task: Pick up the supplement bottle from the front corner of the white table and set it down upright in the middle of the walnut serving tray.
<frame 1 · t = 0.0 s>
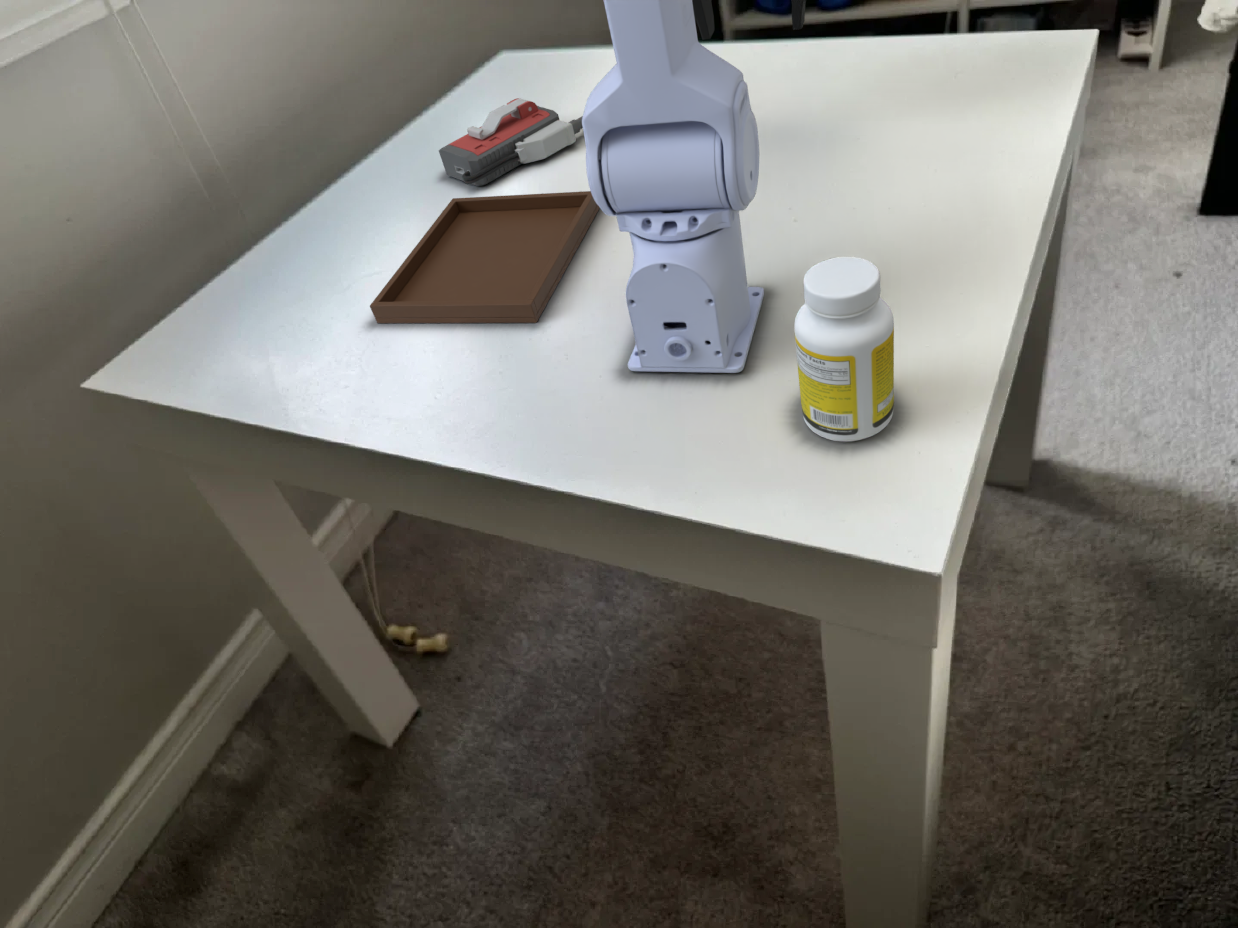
hand: (752, 30, 76), 10 cm above the table, tool pointing down, fingers open, 7 cm apart
tray: (493, 263, 77), on the table
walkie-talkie: (535, 148, 93), on the table
supplement bottle: (847, 416, 55), on the table
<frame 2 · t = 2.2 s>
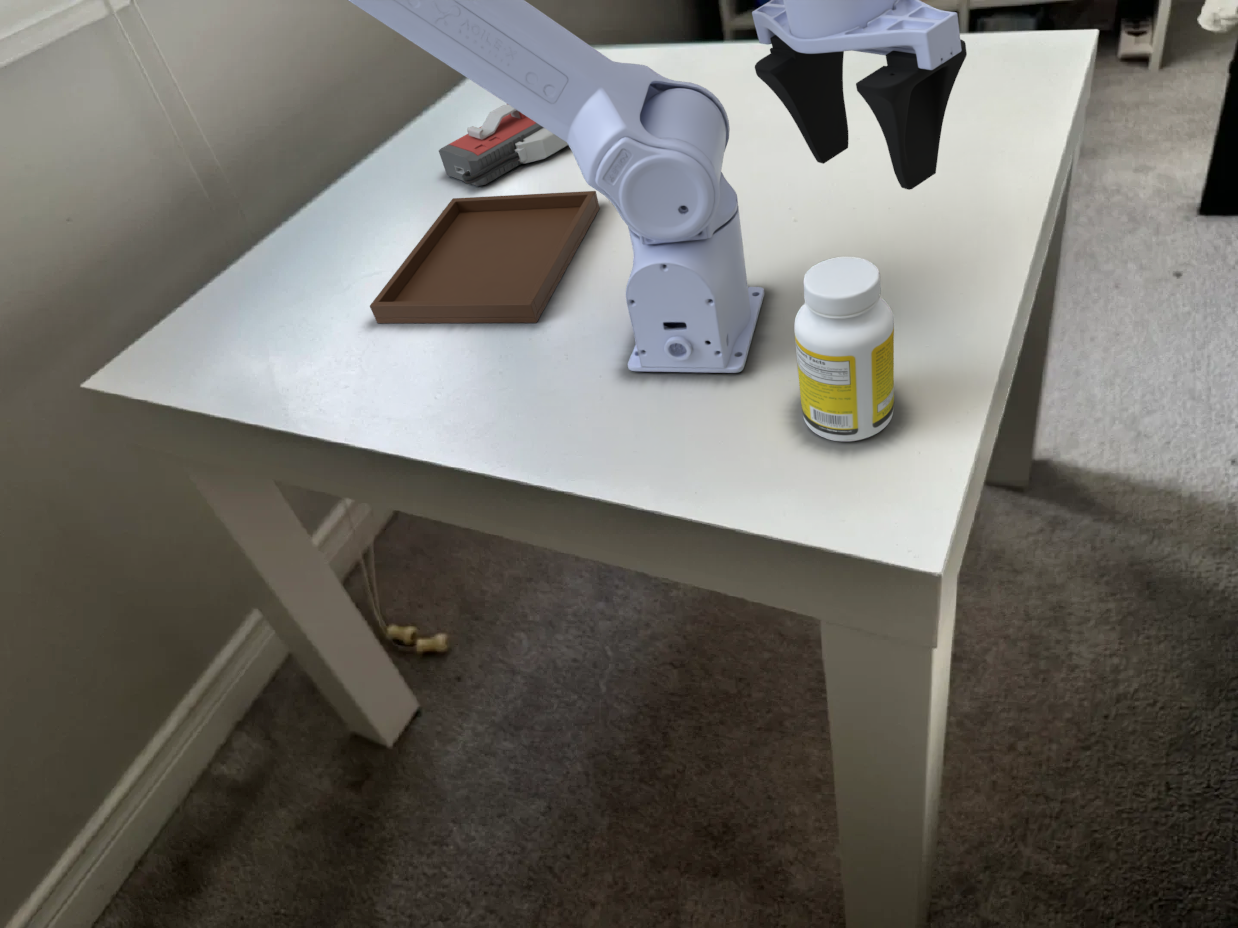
hand: (873, 166, 54), 11 cm above the table, tool pointing down, fingers open, 7 cm apart
nothing on the table moved.
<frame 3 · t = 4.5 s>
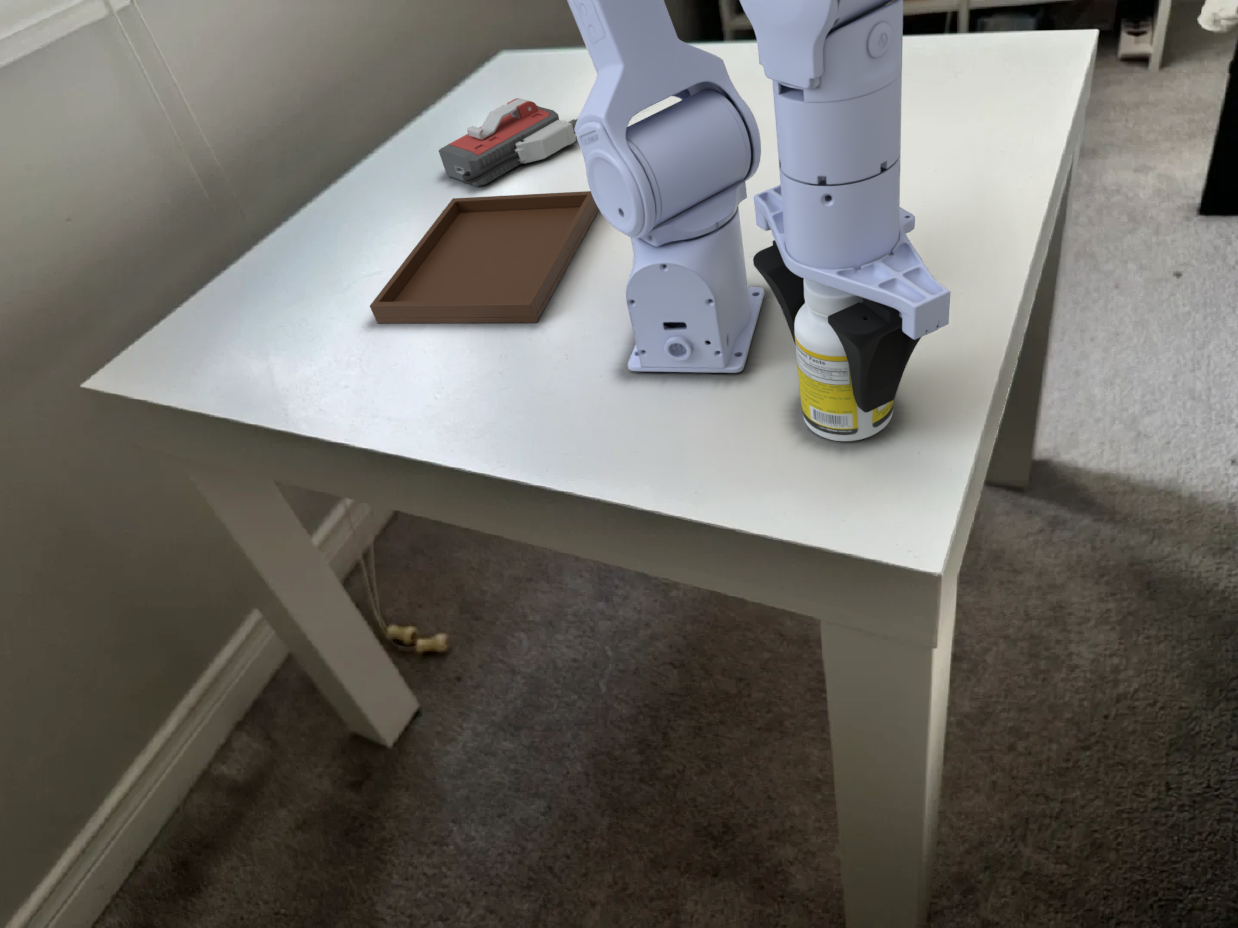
hand: (846, 377, 53), 3 cm above the table, tool pointing down, fingers closed on supplement bottle, 5 cm apart
supplement bottle: (846, 416, 55), on the table, touching gripper
everything else where it was.
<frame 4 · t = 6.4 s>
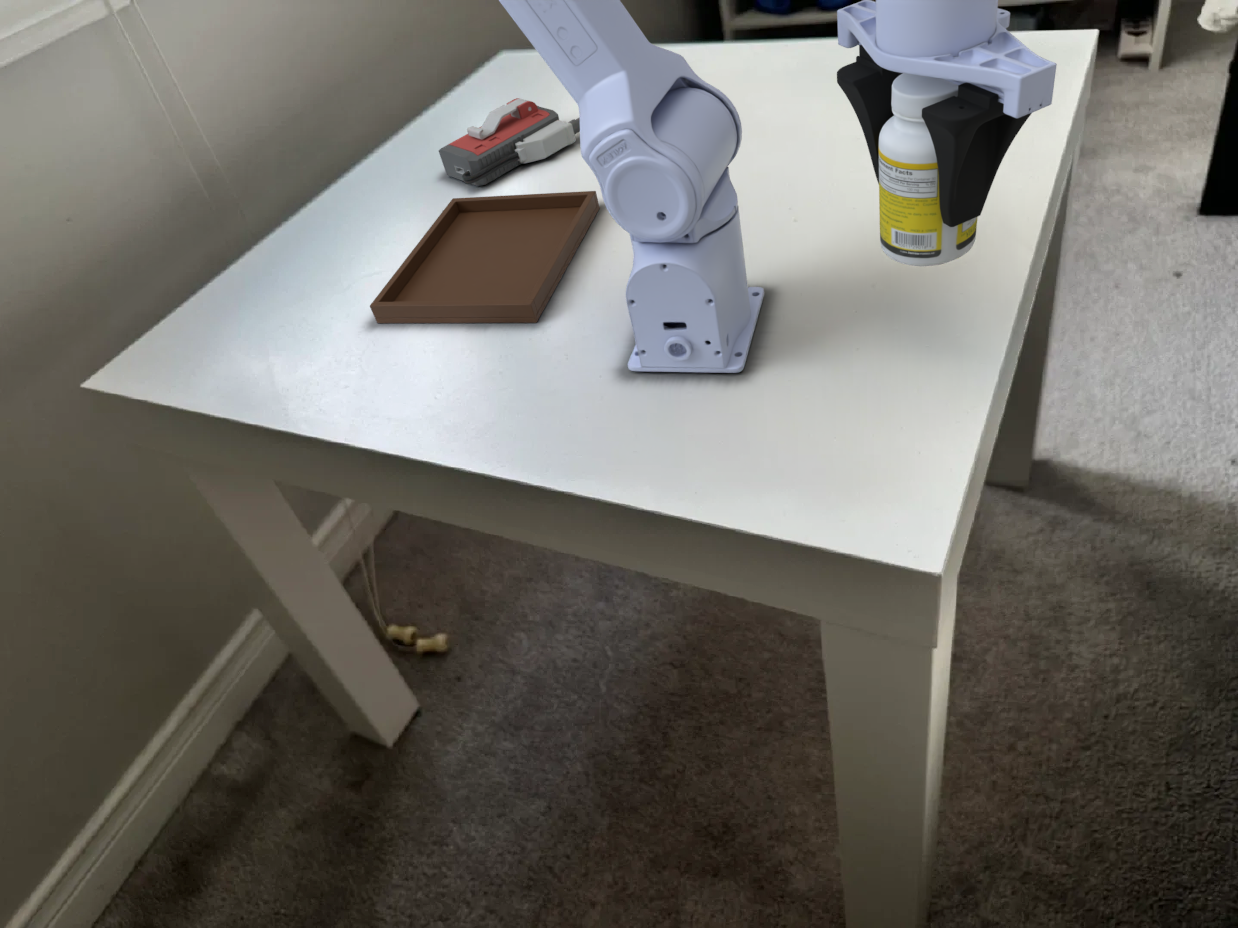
hand: (928, 199, 52), 10 cm above the table, tool pointing down, fingers closed on supplement bottle, 5 cm apart
supplement bottle: (926, 247, 54), point 7 cm above the table, touching gripper
everything else where it was.
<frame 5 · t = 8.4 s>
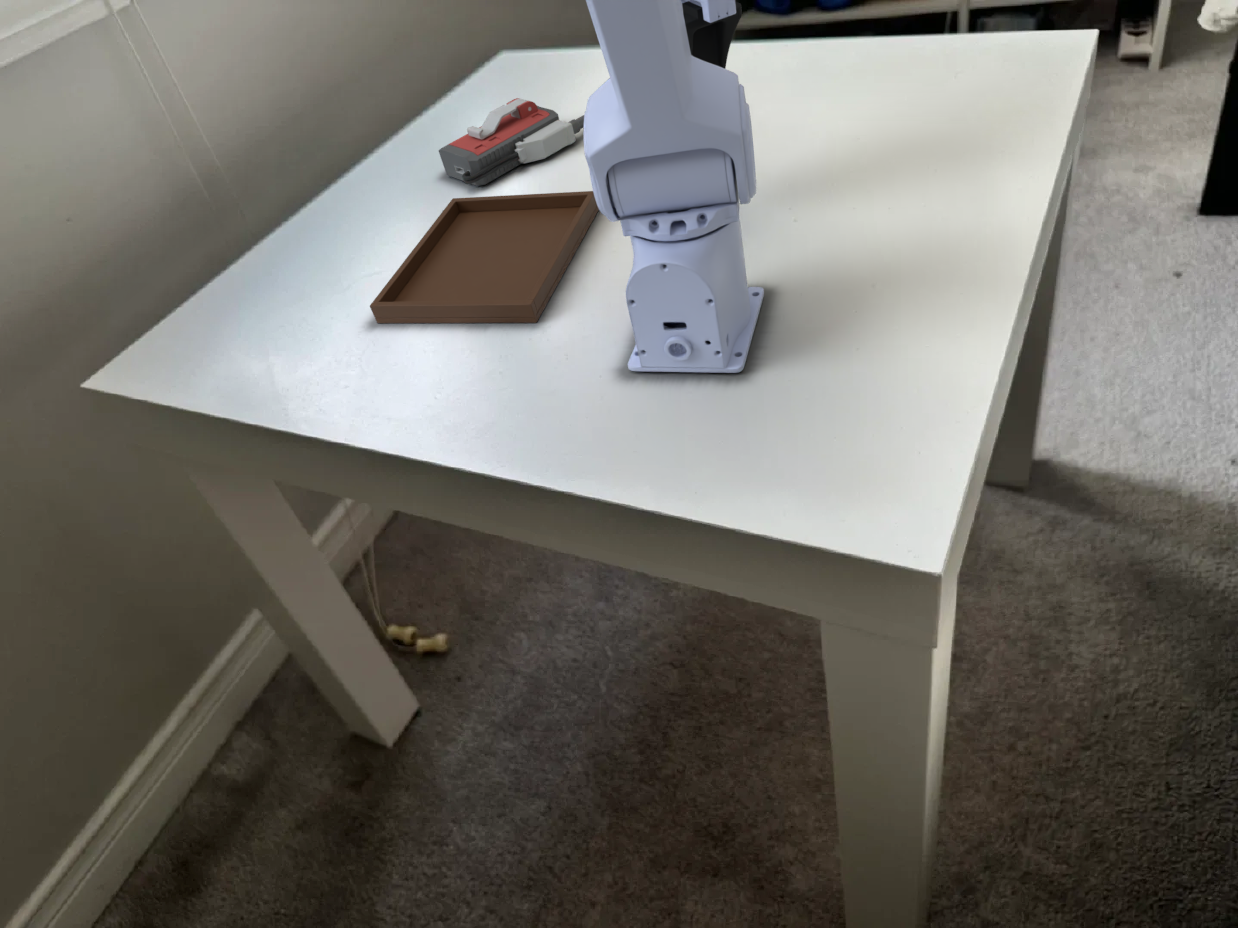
hand: (689, 98, 69), 10 cm above the table, tool pointing down, fingers closed on supplement bottle, 5 cm apart
supplement bottle: (696, 136, 71), point 7 cm above the table, touching gripper
everything else where it was.
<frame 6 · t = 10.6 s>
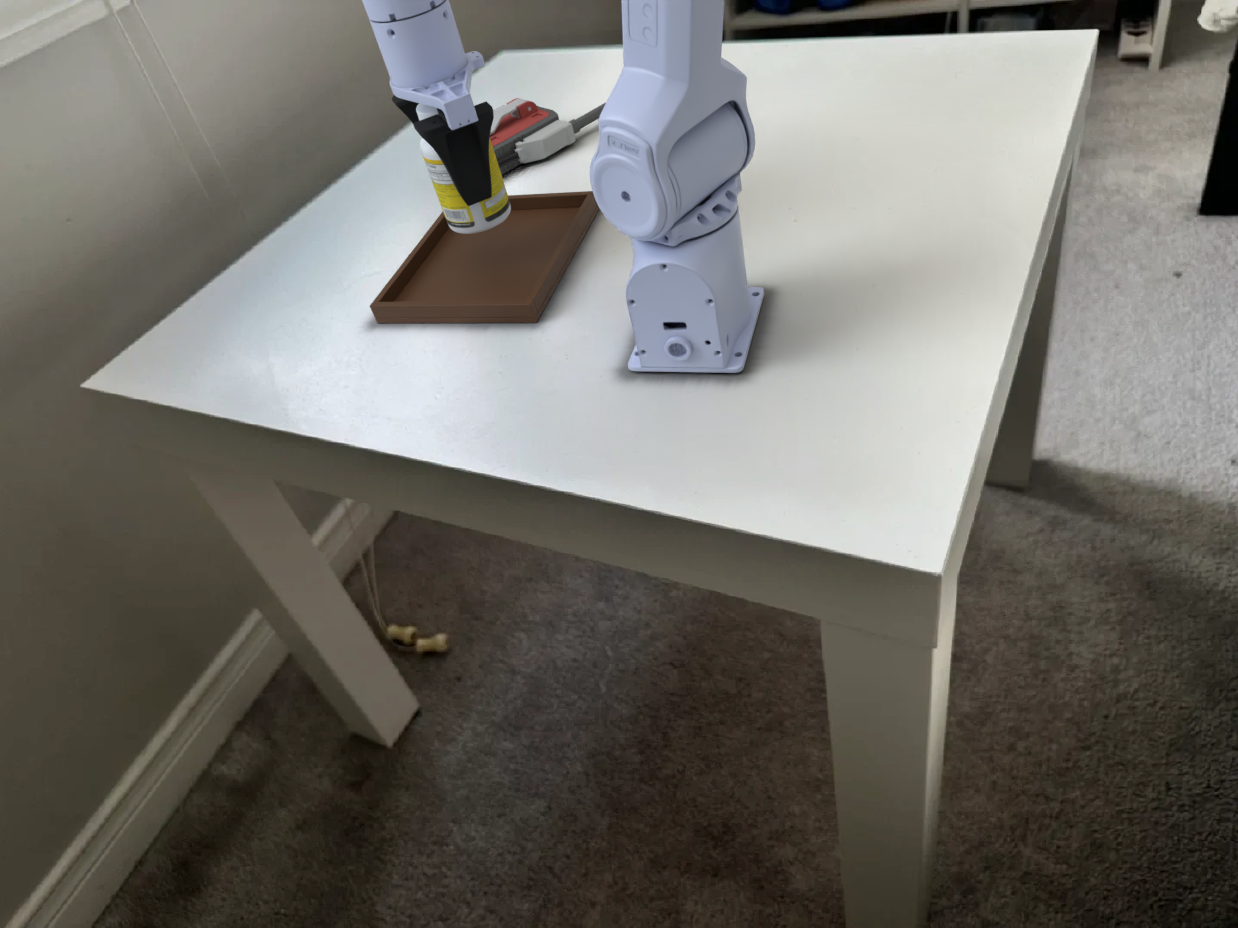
hand: (468, 187, 72), 7 cm above the table, tool pointing down, fingers closed on supplement bottle, 5 cm apart
supplement bottle: (481, 220, 74), point 4 cm above the table, touching gripper
everything else where it was.
when the fingers open (3 cm above the table, at t = 12.2 s): supplement bottle stays where it is, resting on tray.
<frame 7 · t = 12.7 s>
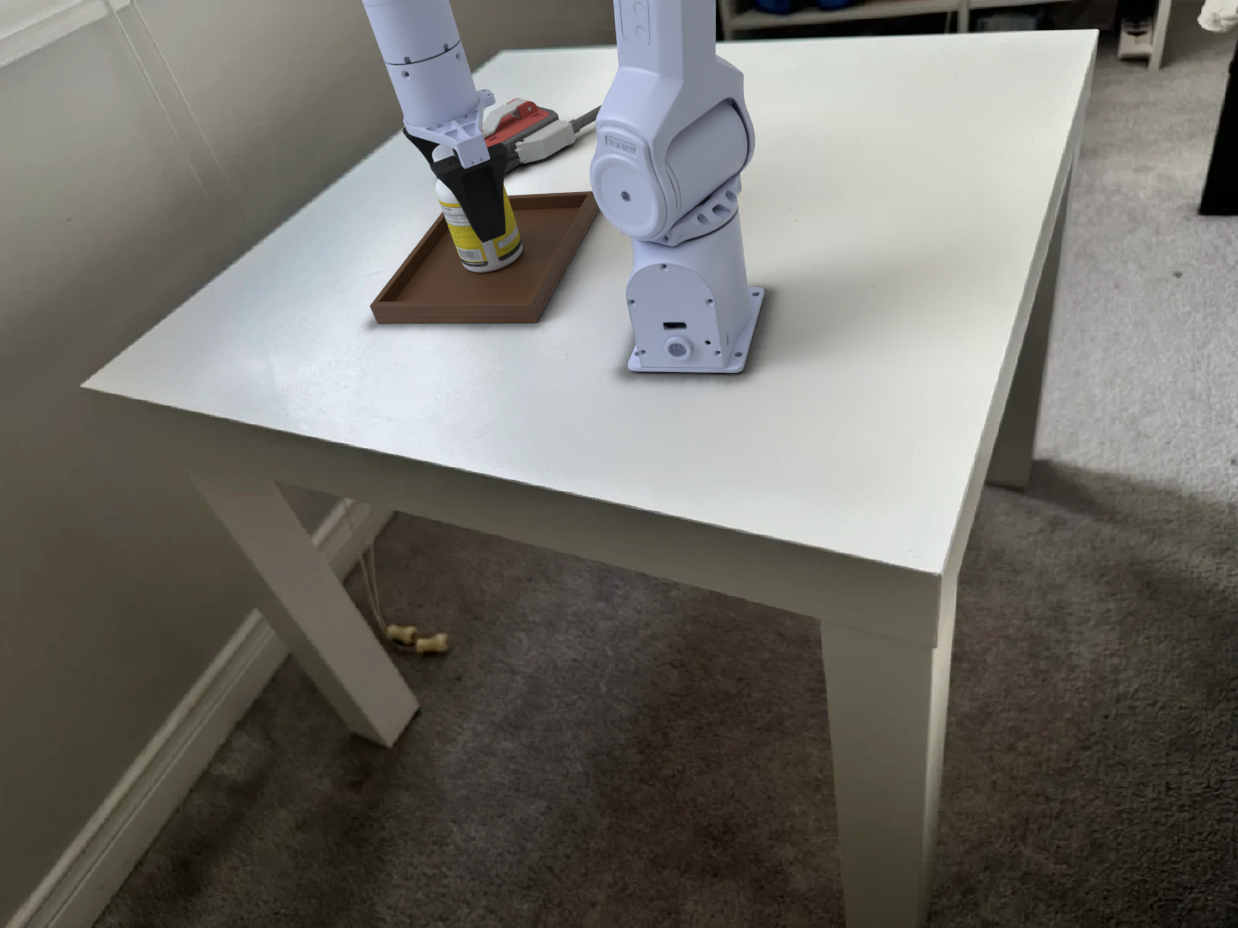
hand: (478, 218, 74), 4 cm above the table, tool pointing down, fingers open, 7 cm apart
supplement bottle: (493, 259, 77), resting on tray
everything else where it was.
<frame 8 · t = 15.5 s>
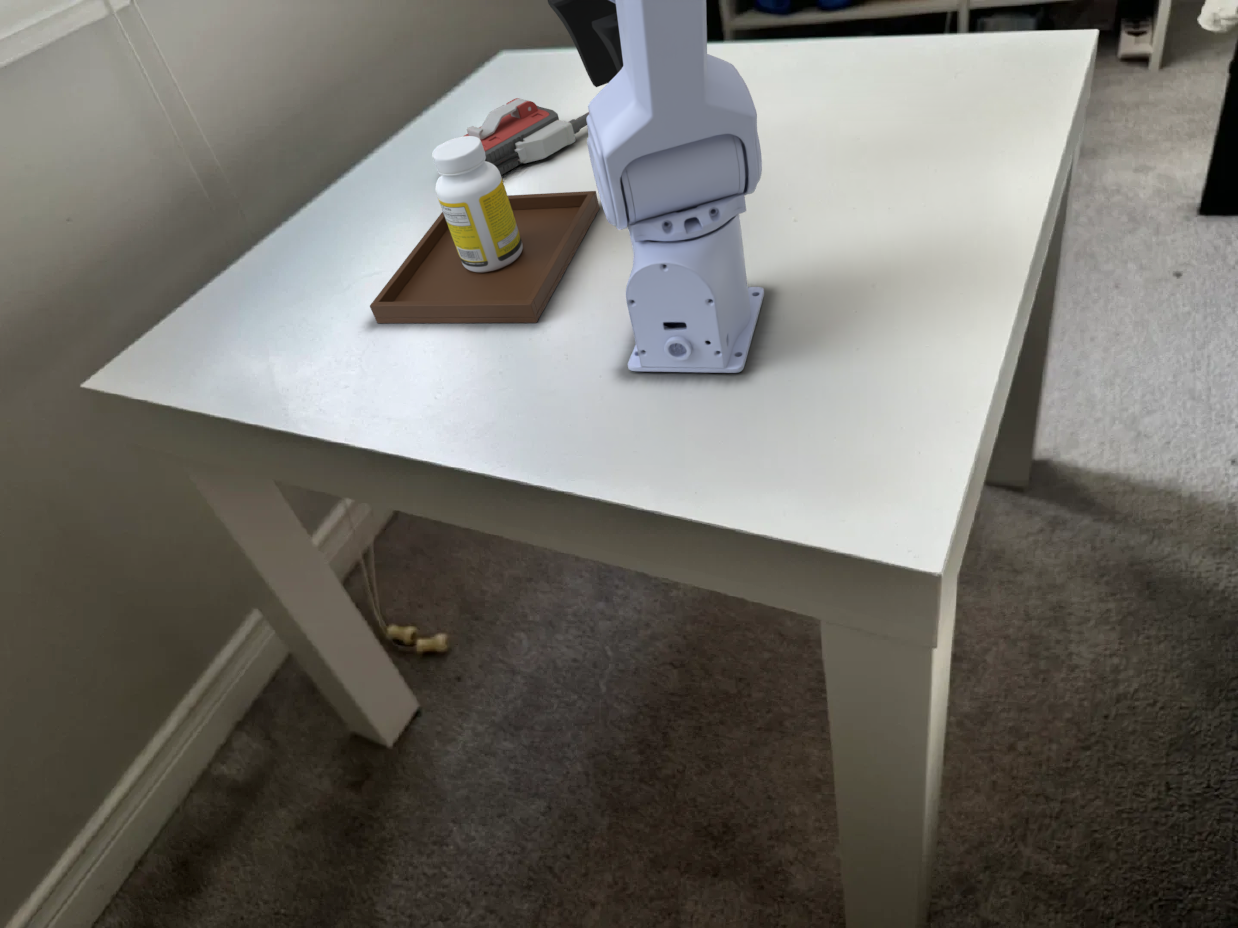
hand: (625, 95, 70), 10 cm above the table, tool pointing down, fingers open, 7 cm apart
nothing on the table moved.
at the end: supplement bottle inside the target area in the tray (0.1 cm from its centre), point 0.3 cm above the tray's base; supplement bottle tilted 0°; the gripper is holding nothing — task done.
